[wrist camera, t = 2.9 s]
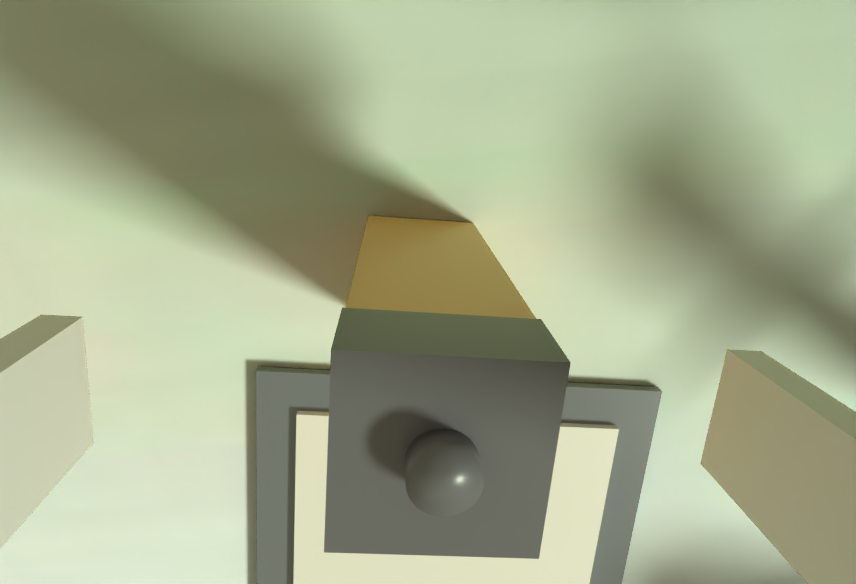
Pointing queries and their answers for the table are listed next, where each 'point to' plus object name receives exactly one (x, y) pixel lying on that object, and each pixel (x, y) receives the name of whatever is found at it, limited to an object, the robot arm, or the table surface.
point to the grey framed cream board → (453, 575)
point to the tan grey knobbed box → (439, 401)
